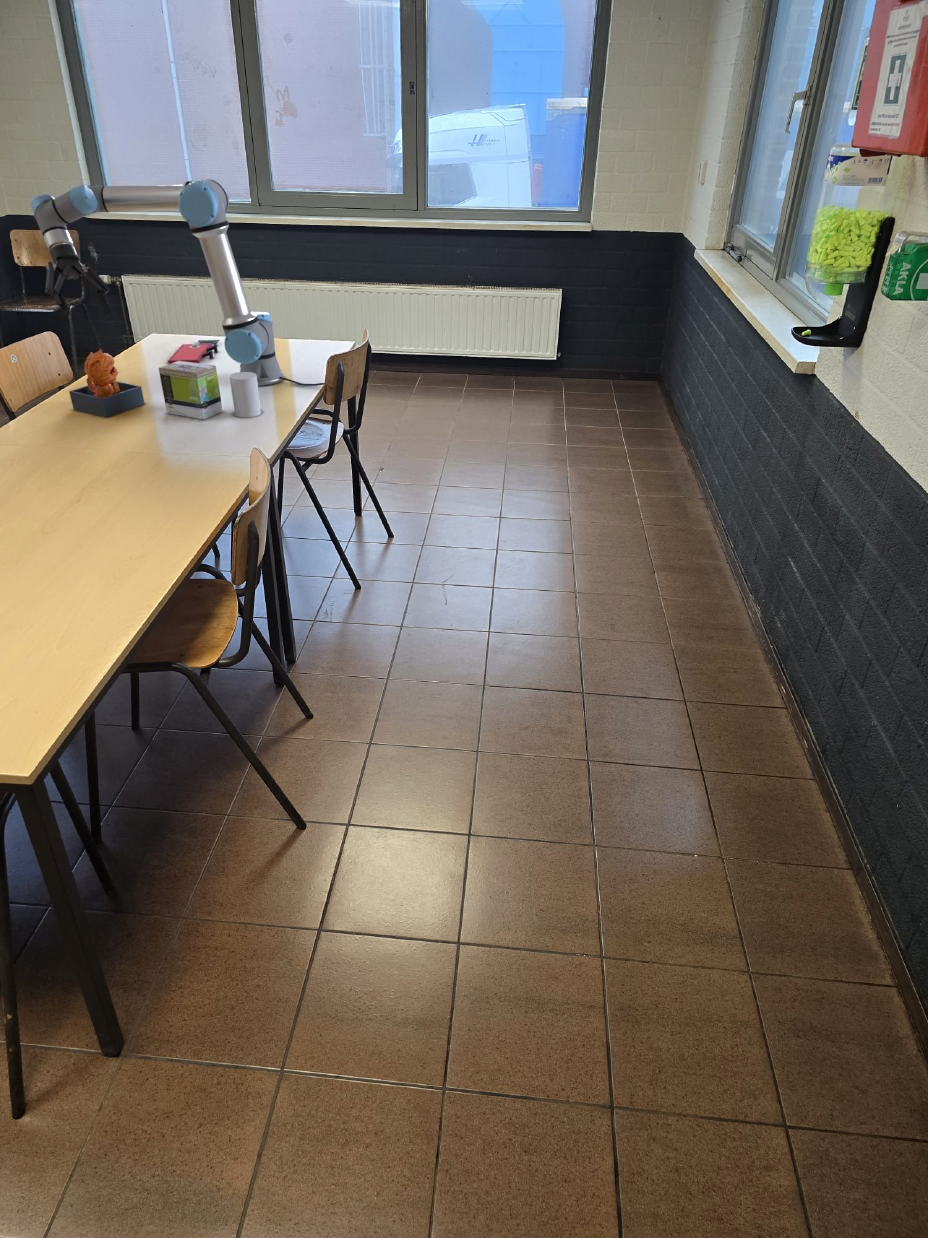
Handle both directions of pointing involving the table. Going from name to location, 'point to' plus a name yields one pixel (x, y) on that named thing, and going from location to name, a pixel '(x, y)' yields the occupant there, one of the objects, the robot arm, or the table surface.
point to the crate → (107, 400)
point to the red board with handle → (194, 351)
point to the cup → (245, 394)
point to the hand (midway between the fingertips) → (88, 314)
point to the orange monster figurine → (101, 374)
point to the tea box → (191, 389)
